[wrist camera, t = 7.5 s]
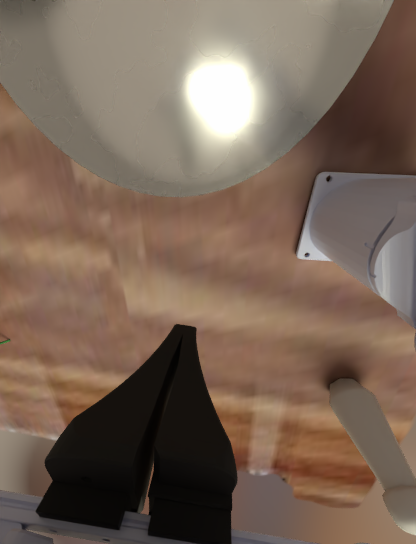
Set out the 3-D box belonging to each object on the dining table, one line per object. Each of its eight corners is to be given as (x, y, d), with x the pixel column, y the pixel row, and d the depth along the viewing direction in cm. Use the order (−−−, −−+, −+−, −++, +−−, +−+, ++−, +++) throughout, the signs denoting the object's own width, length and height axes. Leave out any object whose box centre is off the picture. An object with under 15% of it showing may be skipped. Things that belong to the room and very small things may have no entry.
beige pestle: (326, 373, 27) (402, 517, 16) (369, 373, 26) (483, 525, 15) (320, 398, 30) (381, 538, 18) (359, 399, 29) (449, 545, 17)
